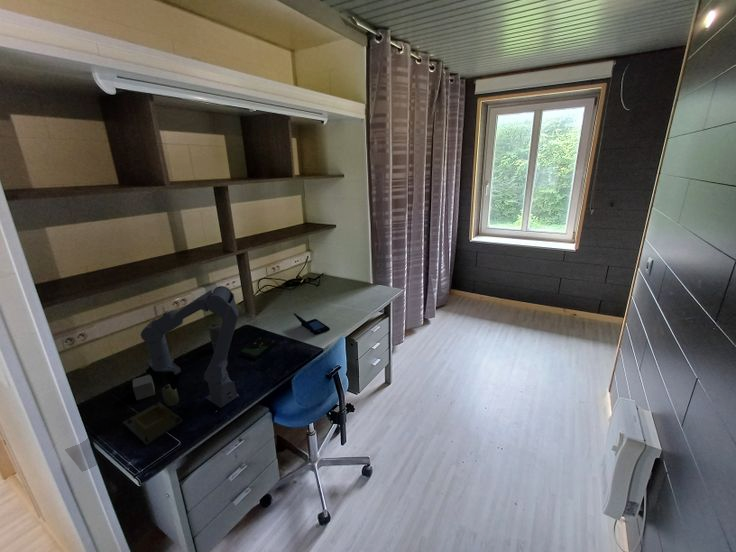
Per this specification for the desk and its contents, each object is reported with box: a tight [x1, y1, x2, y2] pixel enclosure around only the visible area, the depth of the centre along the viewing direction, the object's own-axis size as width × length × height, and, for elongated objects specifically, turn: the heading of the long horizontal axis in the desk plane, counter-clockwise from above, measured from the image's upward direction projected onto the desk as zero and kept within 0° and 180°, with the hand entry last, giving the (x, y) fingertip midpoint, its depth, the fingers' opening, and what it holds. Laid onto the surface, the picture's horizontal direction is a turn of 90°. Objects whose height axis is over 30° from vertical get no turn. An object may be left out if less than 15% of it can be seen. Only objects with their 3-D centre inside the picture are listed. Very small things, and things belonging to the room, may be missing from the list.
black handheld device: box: [293, 313, 331, 336], centre depth 175 cm, size 16×13×9 cm
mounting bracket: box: [122, 401, 184, 446], centre depth 114 cm, size 16×12×4 cm
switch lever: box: [161, 384, 180, 408], centre depth 123 cm, size 5×5×7 cm
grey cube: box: [132, 374, 156, 401], centre depth 129 cm, size 6×6×6 cm
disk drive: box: [239, 336, 278, 361], centre depth 158 cm, size 10×3×15 cm
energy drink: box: [208, 323, 222, 351], centre depth 158 cm, size 5×5×12 cm
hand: (167, 385), depth 122 cm, fingers open, 7 cm apart
